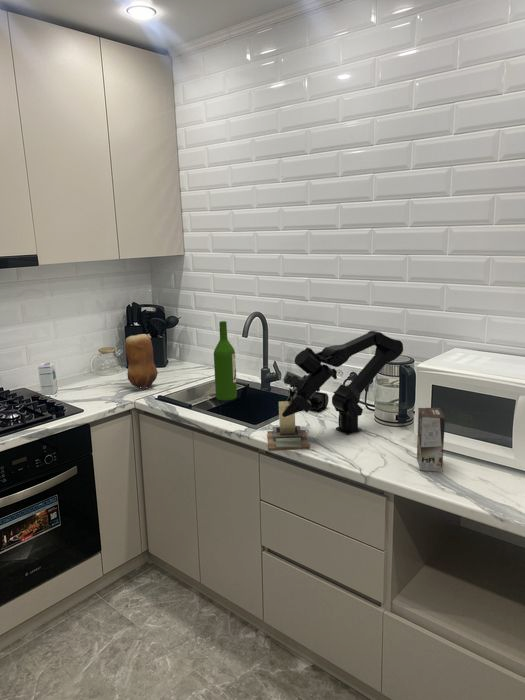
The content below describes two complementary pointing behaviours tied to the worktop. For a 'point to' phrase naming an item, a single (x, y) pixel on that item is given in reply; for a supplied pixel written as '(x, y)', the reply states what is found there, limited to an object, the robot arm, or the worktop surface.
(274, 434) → the shunted jig
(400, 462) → the worktop surface
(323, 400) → the end cap
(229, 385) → the wine bottle
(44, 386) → the syrup box
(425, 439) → the coffee box
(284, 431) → the tan wooden block
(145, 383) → the butternut squash
